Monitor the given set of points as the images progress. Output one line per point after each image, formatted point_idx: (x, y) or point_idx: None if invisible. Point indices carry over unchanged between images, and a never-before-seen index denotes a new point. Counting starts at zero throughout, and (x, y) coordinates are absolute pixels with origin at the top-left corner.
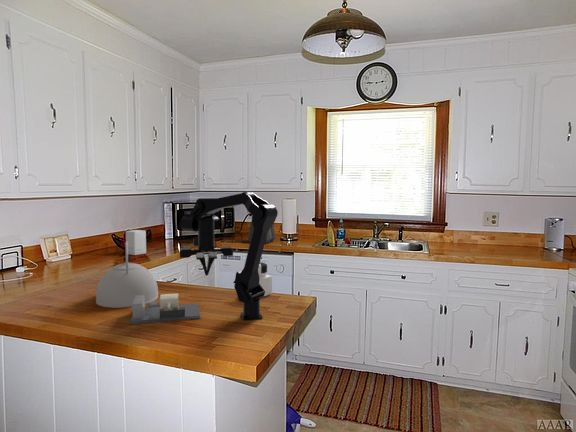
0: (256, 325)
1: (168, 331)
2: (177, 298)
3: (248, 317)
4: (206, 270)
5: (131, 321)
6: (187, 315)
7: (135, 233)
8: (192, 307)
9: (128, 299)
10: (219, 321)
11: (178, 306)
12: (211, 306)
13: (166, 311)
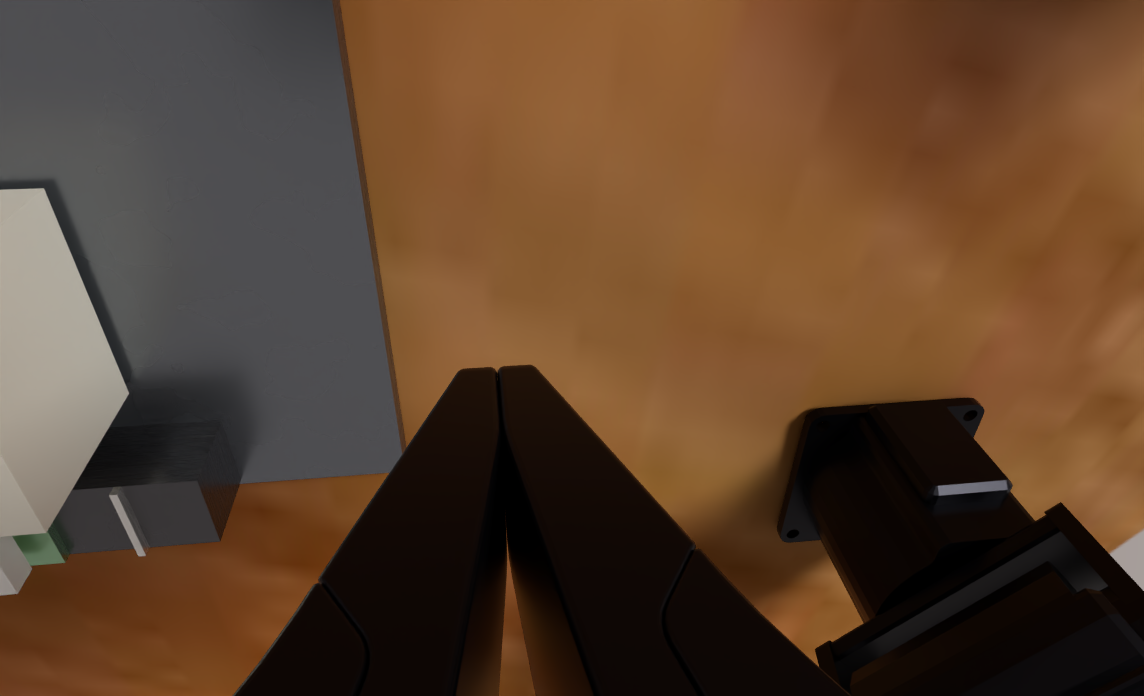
0: (822, 605)
1: (170, 645)
2: (32, 532)
3: (822, 541)
4: (500, 613)
5: None
6: (262, 456)
7: None
8: (268, 200)
9: None
10: None
11: (97, 445)
12: (545, 68)
13: None
